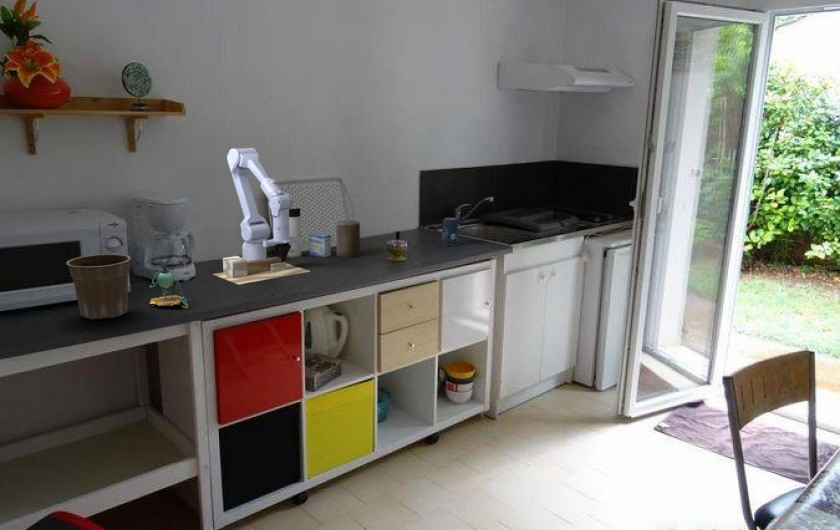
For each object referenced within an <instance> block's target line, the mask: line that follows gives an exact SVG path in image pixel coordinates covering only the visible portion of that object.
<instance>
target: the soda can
mask: <svg viewBox="0 0 840 530" xmlns="http://www.w3.org/2000/svg"><path fill="white" fill-rule="evenodd" d="M441 223H442V225H441V226H442V227H441V228H442V229H441V243H442V244H443V243H444V244H456V243H457V244H458V232H459V231H458V230H459V229H458V228H459V222H458V220H457V218H456V217H443V220H442V222H441ZM457 244H456V245H457Z"/></svg>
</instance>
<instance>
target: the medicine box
mask: <svg viewBox="0 0 840 530" xmlns="http://www.w3.org/2000/svg"><path fill="white" fill-rule="evenodd" d="M308 235H309V236H308V237H309V238H308V240H309V241H308V242H309V243H308V249H309V250H308V251H309V252H308V254H309V256H312V257H319V258H320V257H321V258H326V257H330V256H332V251H331V250H332V242H331V241H332V240H331V239H332V238H331V237H332V235H330V234H323V233H310V234H308Z"/></svg>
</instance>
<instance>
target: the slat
mask: <svg viewBox="0 0 840 530" xmlns="http://www.w3.org/2000/svg"><path fill="white" fill-rule="evenodd" d="M276 263H281V258H279V257H277V256H273V257H266V258H265V259H259V260H253V261H247V275H248V274H254V273H260V272H265V271H271V264H276Z"/></svg>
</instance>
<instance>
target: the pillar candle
mask: <svg viewBox="0 0 840 530" xmlns="http://www.w3.org/2000/svg"><path fill="white" fill-rule="evenodd" d="M360 224H361V223H360V221H356V220H339V221H337V222H335V230H336V231H335V232H336V234H335V236H336V237H335V238H336V239H335V240H336V241H335V242H336V256H337V257H339V258H348V259H349V258H358V257H360V256H361V230H360V229H361V225H360Z"/></svg>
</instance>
